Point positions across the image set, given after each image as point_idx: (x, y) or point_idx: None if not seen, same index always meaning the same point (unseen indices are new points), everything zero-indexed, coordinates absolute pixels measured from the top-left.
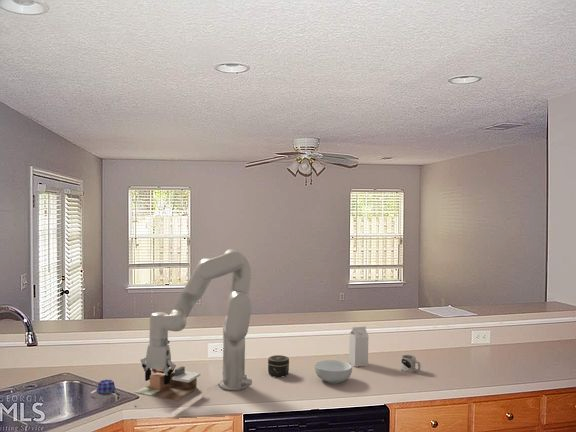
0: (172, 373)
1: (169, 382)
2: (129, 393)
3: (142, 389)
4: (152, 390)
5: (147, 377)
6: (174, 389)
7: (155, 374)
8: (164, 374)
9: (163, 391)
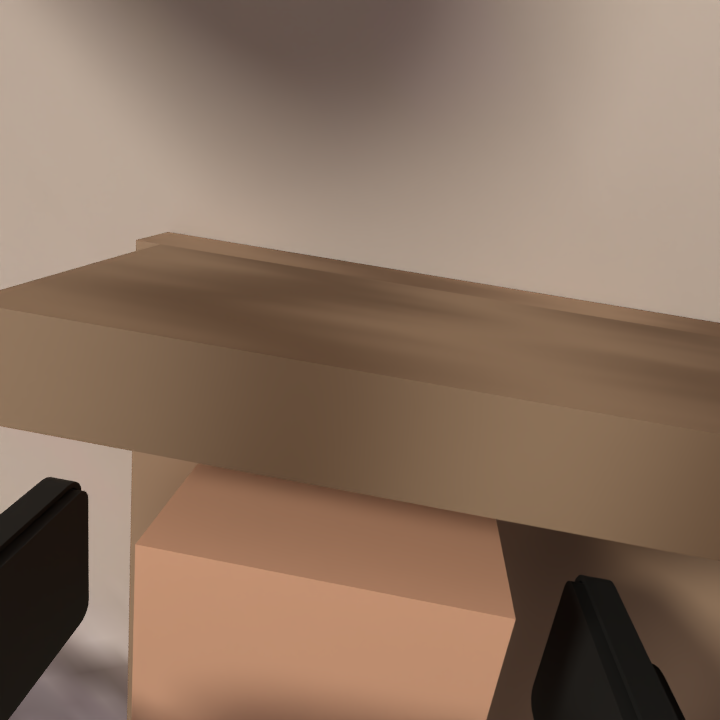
0: (701, 546)
1: (607, 586)
2: None
3: None
4: None
5: (48, 645)
6: (717, 585)
7: (200, 705)
8: (459, 667)
9: None
